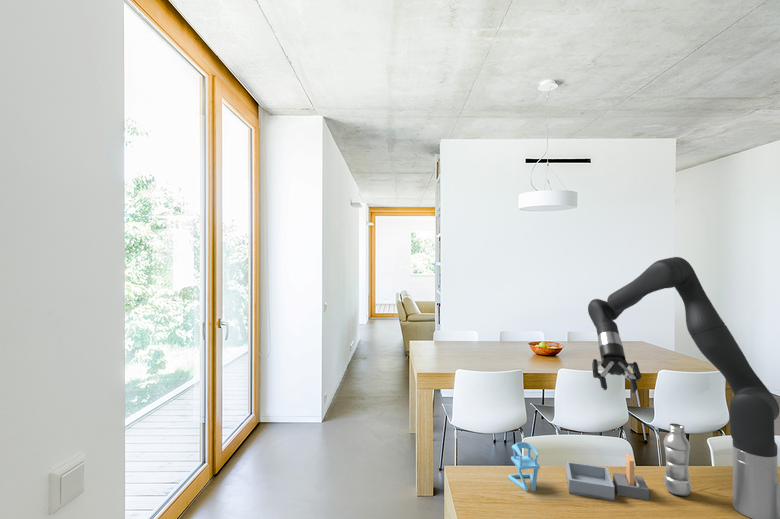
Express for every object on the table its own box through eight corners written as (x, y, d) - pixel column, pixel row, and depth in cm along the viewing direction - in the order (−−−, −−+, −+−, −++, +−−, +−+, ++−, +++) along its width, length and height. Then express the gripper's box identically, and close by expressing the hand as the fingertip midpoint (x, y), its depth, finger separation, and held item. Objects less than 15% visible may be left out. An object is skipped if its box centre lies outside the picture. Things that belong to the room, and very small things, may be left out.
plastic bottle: (695, 500, 118) (695, 431, 118) (669, 497, 119) (669, 429, 119) (684, 488, 124) (684, 422, 124) (659, 485, 125) (659, 420, 126)
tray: (607, 480, 129) (607, 467, 129) (614, 500, 117) (614, 487, 117) (566, 473, 133) (566, 461, 133) (569, 493, 121) (569, 479, 121)
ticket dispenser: (642, 486, 125) (642, 474, 125) (649, 500, 118) (648, 487, 118) (613, 482, 128) (613, 470, 128) (617, 495, 120) (617, 482, 120)
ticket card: (630, 487, 125) (630, 454, 125) (634, 495, 120) (634, 461, 120) (626, 486, 125) (626, 453, 125) (629, 494, 121) (629, 460, 121)
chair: (518, 492, 122) (518, 452, 122) (507, 477, 130) (507, 440, 130) (543, 490, 123) (543, 451, 123) (530, 476, 131) (531, 439, 131)
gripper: (591, 340, 144) (598, 383, 133) (636, 343, 141) (647, 387, 130) (587, 351, 149) (594, 393, 139) (630, 354, 146) (640, 397, 135)
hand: (619, 390), depth 134 cm, fingers open, 8 cm apart
